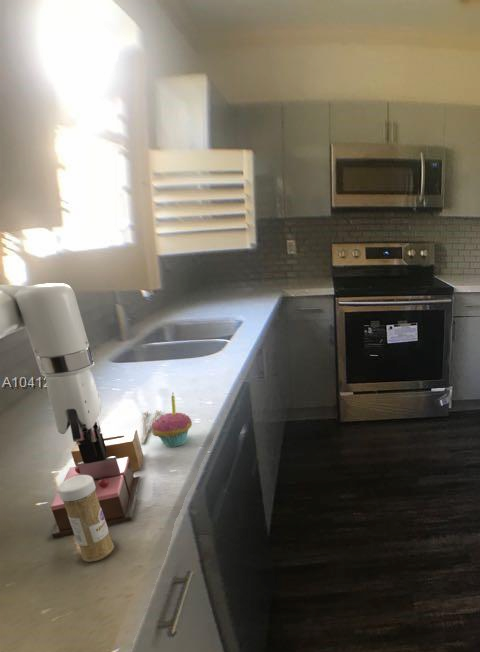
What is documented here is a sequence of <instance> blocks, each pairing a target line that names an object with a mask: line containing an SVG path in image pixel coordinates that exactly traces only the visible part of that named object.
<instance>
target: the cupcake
mask: <svg viewBox="0 0 480 652" xmlns="http://www.w3.org/2000/svg"><path fill="white" fill-rule="evenodd" d="M175 398H176V397H175V395H174V392H172V395H171V397H170V400H171V412H167V413H164V414H163V415H161V416H160V417H157V418H156V419H155V420H154V422H153V424H152V425H151V433H152V435H153V436H154V437H158V438H159V439H160V440H161V441H162V443H163V445H164V446H165V447H167V448H176V447H179V446H182V445H184V444H185V443H186V442H187V440H188V433H189V430H190V429H191V427H192V425H193V422H192V418H191V417H190V416H189V415H187V414H186V413H183V412H177V411H176V399H175Z"/></svg>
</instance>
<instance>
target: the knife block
mask: <svg viewBox="0 0 480 652" xmlns="http://www.w3.org/2000/svg"><path fill="white" fill-rule="evenodd" d="M102 436H103V439H104V443H105V446H106V449H107V452H106V455H107V457H106V458H108V457H113V456H116V459H120V458H125V457H128V458H129V461H130V465H131V469H132V472H133V473H134V472H138V471H141V469H142V465H143V461H144V453H143V449H142V445H141V441H140V437H139V433H138V430H137V428H131V429H124V430H119V431H118V430H117V431H113V432H106V433H102ZM70 453H71V456H72V460H73V462H74V465H75V467H76V466H78V463H81V462H83V460H82V457H81V454H80V450H79V447H78V445H77V443H76V442H75V444H74V446H73V447H72V449H71V451H70Z"/></svg>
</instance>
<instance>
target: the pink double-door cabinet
mask: <svg viewBox="0 0 480 652" xmlns="http://www.w3.org/2000/svg"><path fill="white" fill-rule="evenodd" d="M117 462H118V466H119V469H120V473H121V476H116V477H111V478H102V479H100V480H96V481H94V483H95V492H96V495H97V498H98V501H99V504H100V507H101V509H102V512H103V515H104V518H105V521H106V524H107V527H108V526H112V525H113V526H114V525H117V524H122V523H125V522H130V521H132V520H133V516H134V511H135V507H136V503H137V499H138V498H137V497H138V493H139V489H140V485H141V481H142V478H141V476H134V471H133V472H132V469H131V465H130V461H129V458H128V457H125V458H120V459H117ZM78 475H81V473H80V470H79V467H78V466H76V465H75V466H72V467H70V468H69V469H68V471H67V473H66V475H65V477H64V479H63V481H65V480H67V479H69V478H71V477H74V476H78ZM50 509H51V512H52V515H53V517H54V520H55V523H56V524H55V527H54V529H53V531H52V532H51V536H52V538H53V539H55V538H59V537H64V536H69V535H74V532H73V529H72V527H71V524H70V521H69V518H68V514H67V511H66V508H65V505H64V502H63V500H61V498H60V495H59V492H58V491H57V493H56V495H55V497H54V499H53V501H52V503H51V505H50Z"/></svg>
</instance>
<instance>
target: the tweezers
mask: <svg viewBox="0 0 480 652" xmlns="http://www.w3.org/2000/svg"><path fill="white" fill-rule="evenodd" d="M161 413H162V409H160V410H159V409H158V410H157V409H155V414H154V415H153V416H152V419H151V421H150V422H149V424H148V427H147V425H146V424H147V423H146V417H147V416H148V415H149V411H146V412H141V415H142V425H143V432H142V433H143V435H142V441H141V443H142V444H144V443H145V441H146V438H147V436H148V433H149V431H150V429H151V428H152V424H153V423H154V422H155V420H157V419H158V416H159V415H160V414H161Z"/></svg>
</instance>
